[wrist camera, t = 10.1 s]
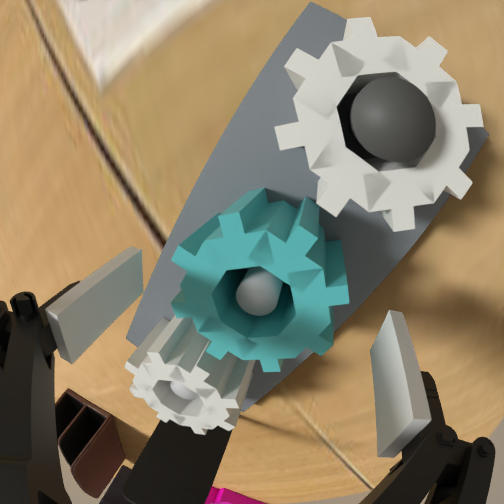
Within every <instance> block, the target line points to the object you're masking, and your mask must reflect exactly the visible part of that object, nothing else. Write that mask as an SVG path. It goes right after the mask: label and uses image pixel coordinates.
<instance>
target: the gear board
mask: <svg viewBox="0 0 504 504" xmlns="http://www.w3.org/2000/svg"><path fill="white" fill-rule="evenodd" d="M447 52H448V51H447V50H446V49H445V48H443V47H442V46H441V45H440V44H438V43H437V42H436V41H435V40H433V39H432V38H431V37H430V36H429V37H428V38H426V39H425V40H424V41H423V42H422V43H421V44H420V45H418V46H417V47H416V48H415V47H414V46H413V45H411V44H410V43H409V42H407V41H406V40H404V39H403V38H402V37H400V36H393V37H378V36H377V33H376V31H375V28H374V25H373V23H372V20H371V17H364V18H352V19H347V20H346V19H344V18H342V17H341V16H339V15H337V14H335V13H333V12H331V11H329V10H327V9H325V8H323V7H321V6H319V5H317V4H315V3H313V2H311V1H310V3H309V4H308V5H307V7H306V8H305V9H304V11H303V12H302V13H301V15H300V16H299V17H298V19H297V20H296V21H295V23H294V24H293V25H292V27H291V28H290V30H289V31H288V32H287V34H286V35H285V37H284V38H283V40H282V41H281V42H280V44H279V45H278V47H277V48H276V50H275V51H274V53H273V54H272V56H271V57H270V59H269V60H268V62H267V63H266V65H265V66H264V68H263V69H262V71H261V72H260V74H259V75H258V77H257V78H256V80H255V82H254V83H253V85H252V86H251V88H250V89H249V91H248V93H247V94H246V96H245V98H244V99H243V101H242V102H241V104H240V106H239V107H238V109H237V111H236V112H235V114H234V116H233V117H232V119H231V121H230V122H229V124H228V126H227V128H226V129H225V131H224V133H223V134H222V136H221V138H220V140H219V141H218V143H217V145H216V147H215V149H214V150H213V152H212V154H211V156H210V158H209V159H208V161H207V163H206V165H205V167H204V169H203V171H202V172H201V174H200V176H199V178H198V180H197V182H196V184H195V186H194V188H193V190H192V191H191V193H190V195H189V197H188V199H187V201H186V203H185V205H184V207H183V209H182V211H181V213H180V215H179V217H178V219H177V221H176V223H175V225H174V228H173V230H172V232H171V234H170V236H169V238H168V240H167V242H166V244H165V247H164V249H163V251H162V253H161V255H160V257H159V260H158V262H157V264H156V266H155V269H154V271H153V273H152V275H151V278H150V280H149V282H148V285H147V287H146V289H145V292H144V294H143V296H142V299H141V301H140V304H139V306H138V309H137V311H136V313H135V316H134V318H133V321H132V323H131V326H130V329H129V331H128V334H127V336H126V339H127V340H128V341H130V342H131V343H133V344H134V345H135V346H137V347H138V348H137V349H136V350H135V352H134V353H133V354H132V355H131V357H130V358H129V359H128V360H127V362H126V365H125V367H124V368H126V369H127V370H128V371H130V372H131V373H133V374H134V375H135V377H134V379H133V383H132V385H131V386H130V388H129V389H130V391H131V392H132V394H133V395H134V397H139V398H144V400H145V401H146V403H147V404H148V406H149V407H151V408H152V409H154V410H156V411H157V412H159V413H158V414H157V416H156V417H157V418H159V419H161V420H162V421H164V422H166V423H167V421H168V420H169V419H170V420H172V421H174V422H175V423H177V424H179V425H182V426H189V427H191V428H192V430H193V431H194V433H196V434H203V435H206V432H207V430H208V429H212V430H213V429H214V428H215V427H216V426H220V427H222V428H224V429H226V430H228V431H230V430H232V429H233V428H234V427H235V426H236V423H237V420H238V417H239V414H240V412H241V411H242V412H244V411H246V410H247V409H248V408H249V407H251V406H252V405H253V404H254V403H256V402H257V401H258V400H259V399H261V398H262V397H263V396H264V395H265V394H267V393H268V392H269V391H270V390H271V389H273V388H274V387H275V386H276V385H277V384H279V383H280V382H281V381H282V380H283V379H284V378H286V377H287V376H288V375H289V374H290V373H291V372H292V371H293V370H295V369H296V368H297V367H298V366H299V365H300V364H301V363H302V362H303V361H305V360H306V359H307V358H308V357H309V356H310V355H311V354H312V353H313V351H312V350H310V349H308V348H307V347H306V348H305V349H304V350H303V351H302V352H301V353H300V354H299V355H298V356H297V357H296V358H286V359H283V363H282V368H281V372H263V369H262V365H261V362H260V360H242V359H240V358H239V357H237V356H235V355H233V354H232V353H230V352H229V351H228V352H227V353H226V354H225V355H224V356H223V358H222V359H221V360H219V359H217V358H215V357H214V356H212V355H211V354H209V353H207V352H206V350H207V348H208V346H209V344H210V342H211V340H209V339H208V338H206V337H204V336H203V335H201V334H200V333H198V331H197V329H196V326H195V324H194V321H193V319H192V318H176V316H175V313H174V311H173V308H172V306H171V302H172V300H173V299H174V298H175V297H176V296H177V295H178V293H179V292H180V291H181V287H180V284H181V282H182V280H183V278H184V277H185V275H186V273H187V271H186V270H184V269H183V268H181V267H180V266H178V265H177V264H175V263H174V262H172V261H171V259H172V257H173V255H174V253H175V251H176V249H177V247H178V245H179V244H180V243H182V242H183V241H184V240H185V239H186V238H188V237H189V236H190V235H191V234H193V233H194V232H195V231H196V230H197V229H199V228H200V227H201V226H202V225H204V224H205V223H206V222H207V221H209V220H210V219H211V218H212V217H214V216H215V215H216V214H217V213H220V214H221V213H222V212H224V211H225V210H226V209H227V208H229V207H230V206H231V205H232V204H233V203H235V202H236V201H237V200H238V199H240V198H241V197H242V196H243V195H245V194H246V193H247V192H248V191H251V190H255V189H260V188H265V191H266V195H267V200H268V203H271V202H277V201H282V200H284V201H286V202H287V203H289V204H290V205H292V206H293V207H295V208H296V209H298V207H299V206H300V204H301V203H302V201H303V200H304V198H305V197H308V198H309V199H311V200H312V201H314V202H315V203H316V204H318V205H319V225H321V226H322V227H323V229H324V235H325V241H326V242H328V241H335V240H341V243H342V249H343V256H344V262H345V270H346V277H347V285H348V294H349V304H342V305H334V306H333V333H334V332H335V331H336V330H337V329H338V328H339V327H340V326H341V325H342V324H343V323H344V322H345V321H346V320H347V319H348V318H349V317H350V316H351V315H352V314H353V313H354V312H355V311H356V310H357V309H358V308H359V306H360V305H361V304H362V303H363V302H364V301H365V300H366V299H367V298H368V297H369V296H370V295H371V294H372V292H373V291H374V290H375V289H376V288H377V287H378V286H379V285H380V284H381V282H382V281H383V280H384V279H385V278H386V277H387V276H388V274H389V273H390V272H391V271H392V270H393V269H394V268H395V266H396V265H397V264H398V263H399V262H400V260H401V259H402V258H403V257H404V256H405V254H406V253H407V252H408V251H409V250H410V248H411V247H412V246H413V245H414V243H415V242H416V241H417V240H418V238H419V237H420V236H421V234H422V233H423V232H424V231H425V229H426V228H427V227H428V225H429V224H430V223H431V221H432V220H433V219H434V217H435V216H436V215H437V213H438V212H439V211H440V209H441V208H442V207H443V205H444V204H445V202H446V201H447V200H448V198H449V197H450V195H453V196H455V197H457V198H458V199H460V200H461V199H462V198H463V196H464V195H465V193H466V192H467V191H468V189H469V188H470V186H471V185H472V183H473V182H472V181H471V180H470V179H469V178H468V177H467V176H466V175H465V173H466V171H467V170H468V168H469V167H470V165H471V164H472V162H473V160H474V159H475V157H476V156H477V154H478V152H479V151H480V149H481V147H482V146H483V144H484V142H485V141H486V139H487V137H488V135H489V134H488V133H487V131H486V130H485V129H484V128H483V127H484V126H483V120H482V114H481V109H480V104H462V103H461V98H460V94H459V89H458V85H457V82H456V81H455V80H454V79H453V78H452V77H451V76H450V75H448V74H447V73H446V72H445V71H444V70H443V69H442V68H440V67H439V65H440V64H441V62H442V60H443V59H444V57H445V55H446V54H447ZM283 283H285V282H284V281H282V280H281V279H279V278H278V277H276V276H275V275H273V274H272V273H270V272H269V271H267V270H266V269H264V268H263V267H261V266H256V267H248V268H247V272H246V274H245V276H244V278H243V280H242V282H241V283H240V285H239V287H238V289H237V292H236V299H237V302H238V304H239V306H240V307H241V308H242V309H243V310H244V311H246V312H247V313H249V314H252V315H256V316H263V315H267V314H269V313H271V312H272V311H273V310H274V309H275V307H276V305H277V302H278V299H279V295H280V292H281V288H282V285H283Z"/></svg>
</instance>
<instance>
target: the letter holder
mask: <svg viewBox="0 0 504 504" xmlns="http://www.w3.org/2000/svg"><path fill="white" fill-rule="evenodd" d="M55 419H56V432H57V443H58V445H59V447H60V450H61V452H62V454H63V456H64V458H65V460H66V461H67V463H68V464H69V465H70V467H71V473H72V475H73V477H74V479H75V481H76V482H77V483H78V485H79V486H80V488H81V489H82V490H83V491H84V492H85V493H87V494H88V495H90V496H92V497H94V498H99V496H100V495H101V493H102V492H103V490H104V489H105V488H106V486H107V485H108V483H109V482H110V481H111V479H112V478H113V476H114V475H115V473H116V471H117V470H118V468H119V467H120V465H121V464H122V463H123V461H124V459H125V456H124V453H123V450H122V446H121V443H120V440H119V436H118V433H117V429H116V426H115V422H114V418H113V415H112V414H110V413H108V412H106V411H105V410H103V409H101V408H99V407H98V406H96V405H94V404H93V403H91V402H89V401H88V400H86V399H85V398H83V397H81V396H80V395H78V394H77V393H75V392H74V391H72V390H71V389H69V388H68V389H67V390H66V391H65V392H64V393H63V394H62V396H61V397H60V398H59V399H58V401H57V402H56V403H55Z"/></svg>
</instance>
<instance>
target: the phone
mask: <svg viewBox="0 0 504 504" xmlns="http://www.w3.org/2000/svg"><path fill="white" fill-rule="evenodd" d="M231 432H232V430H230V431H228V430H226V429H224V428H222V427H220V426H216V427H215V428H214V429H213V430H212V429H208V430H207V432H206V435H203V434H196V433H194V431H193V430H192V428H191V427H189V426H182V425H179V424H177V423H175V422H174V421H172V420H170V419H169V420H168V421H167V423H166V422H164V421H162V420H160V422H159V423H158V425H157V427H156V429H155V430H154V432H153V434H152V436H151V437H150V439H149V441H148V443H147V444H146V446H145V448H144V450H143V451H142V452H141V454H140V456H139V458H138V460H137V461H136V463H135V465H134V466H133V469H132V471H131V472H130V474H129V475H128V478H127V479H126V481H125V483H124V485H123V488H122V492H123V495H124V497H125V498H126V499H127V500H128V501H130V502H132V503H134V504H205V502H206V499H207V497H208V495H209V492H210V490H211V487H212V485H213V481H214V479H215V476H216V473H217V471H218V468H219V465H220V463H221V460H222V457H223V454H224V452H225V449H226V446H227V443H228V441H229V438H230V435H231Z"/></svg>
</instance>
